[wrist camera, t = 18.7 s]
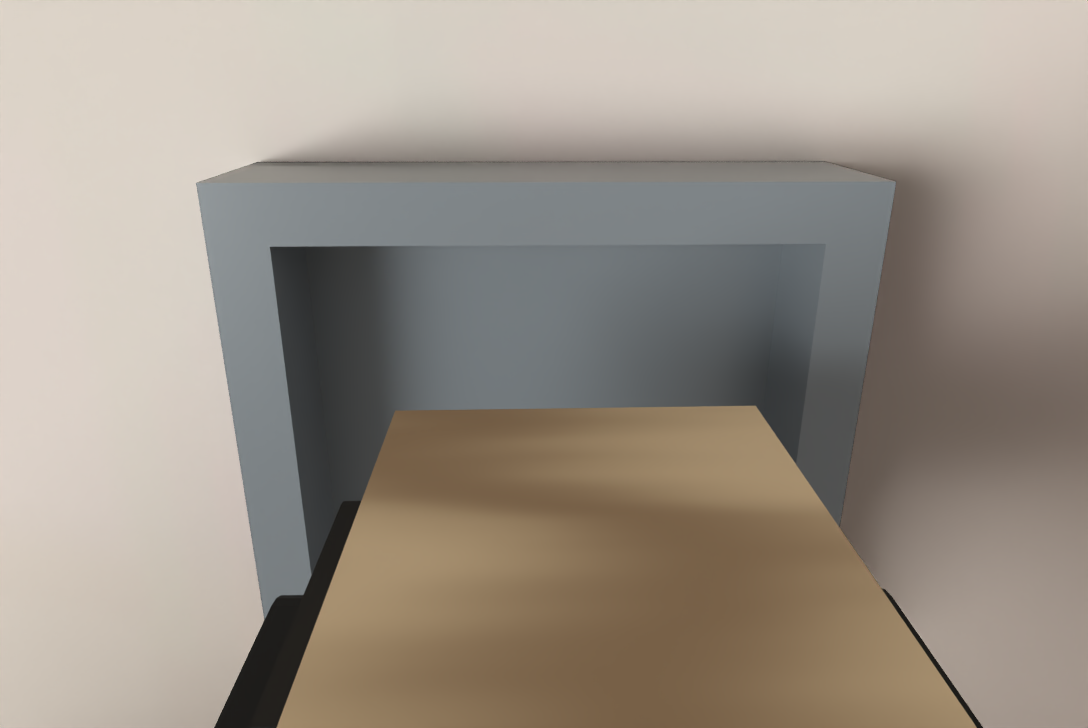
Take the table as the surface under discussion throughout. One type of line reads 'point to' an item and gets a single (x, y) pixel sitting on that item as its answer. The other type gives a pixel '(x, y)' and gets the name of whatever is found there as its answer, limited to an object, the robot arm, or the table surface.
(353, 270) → the tray
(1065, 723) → the table surface
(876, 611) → the oak block
